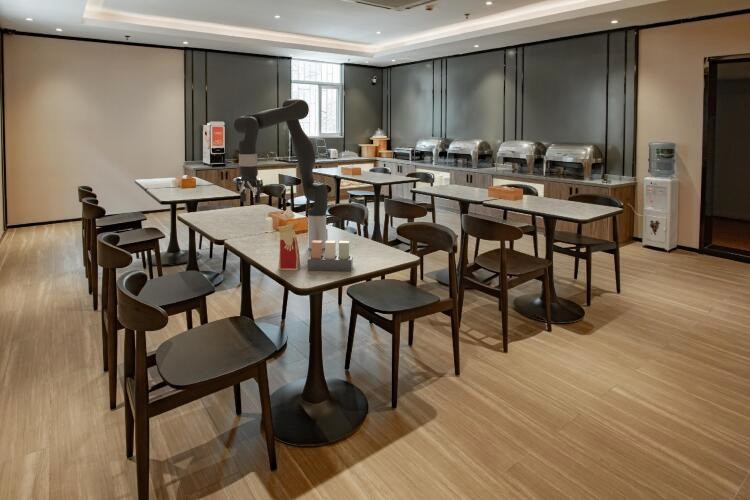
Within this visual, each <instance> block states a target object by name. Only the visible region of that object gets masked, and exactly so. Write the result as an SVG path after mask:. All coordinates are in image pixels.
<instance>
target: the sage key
mask: <svg viewBox="0 0 750 500" xmlns="http://www.w3.org/2000/svg"><path fill="white" fill-rule="evenodd" d="M338 255H339V259H349V255H350V241H349V240H339V241H338Z"/></svg>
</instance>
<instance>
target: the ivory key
mask: <svg viewBox="0 0 750 500" xmlns="http://www.w3.org/2000/svg"><path fill="white" fill-rule="evenodd" d="M324 255H325V259H335V258H336V255H337V243H336V240H328V241H326V242H325V249H324Z"/></svg>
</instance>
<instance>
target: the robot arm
mask: <svg viewBox="0 0 750 500" xmlns="http://www.w3.org/2000/svg"><path fill="white" fill-rule="evenodd" d="M309 112H310V107H309V104H308V102H307V101H306V100H304V99H302V98H289V99H286V100H284V101H283V102H282V107H277V108H271V109H270V108H269V109H266V110H262V111H259V112H257V113H256V112H255V113H253V114H246V115H241V116H238V117H237V118H236V119H235V120H234V122H233V128H234V130H235V132H237V133H239V134H241V135H242V134H243V135H244V137H243V139H240V141H238V142H239V143H238V152H239V154H238V155H239V157H238V162H239V163H238V165H239V166H238V167H239V176H240V177H236V179H235V180H236V181H235V185H236V186H235V187H236V192H239V194H240V195H239V196H240V201H241V202H243V203H244V202H247V193H246V191H247V190H248V189H249V190H250V191H252V193H253V194H254V203H255V204H260V203H261V194H264V182H263V179H262V178H259V179H258V178H257V177H258V175H259V170H258V158H257V146H256V145H257V141H258V136H259V130H264V129H267V128H271V127H272V126H275V125H278V124H281V123H285V122H286V126H287V129H288V131H289V133H290V138H291V140H292V141H291V142H292V146H293V149H294V152H295V153H294V154H295V156H296V161H297V164H298V169H299V172H300V178H301V183H302V190H303V195H304V197H305V199H306V200H307V201H310V202H314V205H313V207H310V208H308V209H307V223H308V224H307V231H308V233H307V234H308V235H307V236H308V243H307V244H308V249H310V250H311V242H312V241H313V240H320V241H322V250H325V242H326V241H329V239H328V235H329V234H328V228H327V210H328V203H329V202H328V201H329V200H328V199H329V191H328V188H327V185H326V184H324V183H318V182H315V179H314V174H313V171H314V170H313V169H314V168H315V167H314V166H315V163H316V156H317V155H316V152H315V151H316V150H315V148H314V144H313V142H312V140H311V139H310V138H309V136H308V135H307V134H306V133H305V131H304V129H303V128H302V126H301V123H300V120H303V119H305V118H306V117H307V116H308V115H309Z"/></svg>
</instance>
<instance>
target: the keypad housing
mask: <svg viewBox="0 0 750 500" xmlns="http://www.w3.org/2000/svg"><path fill="white" fill-rule="evenodd" d="M353 257H354V255H353V254H349V259H339V254H336V258H335V259H325V254H322V258H321V259H320V258H312V253H311V254H309V257H308V258H307V271H309V272H310V271H313V272H314V271H316V272H317V271H318V272H319V271H321V272H322V271H323V272H324V271H325V272H352V270H353V267H354V266H353V265H354V260H353V259H354V258H353Z"/></svg>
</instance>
